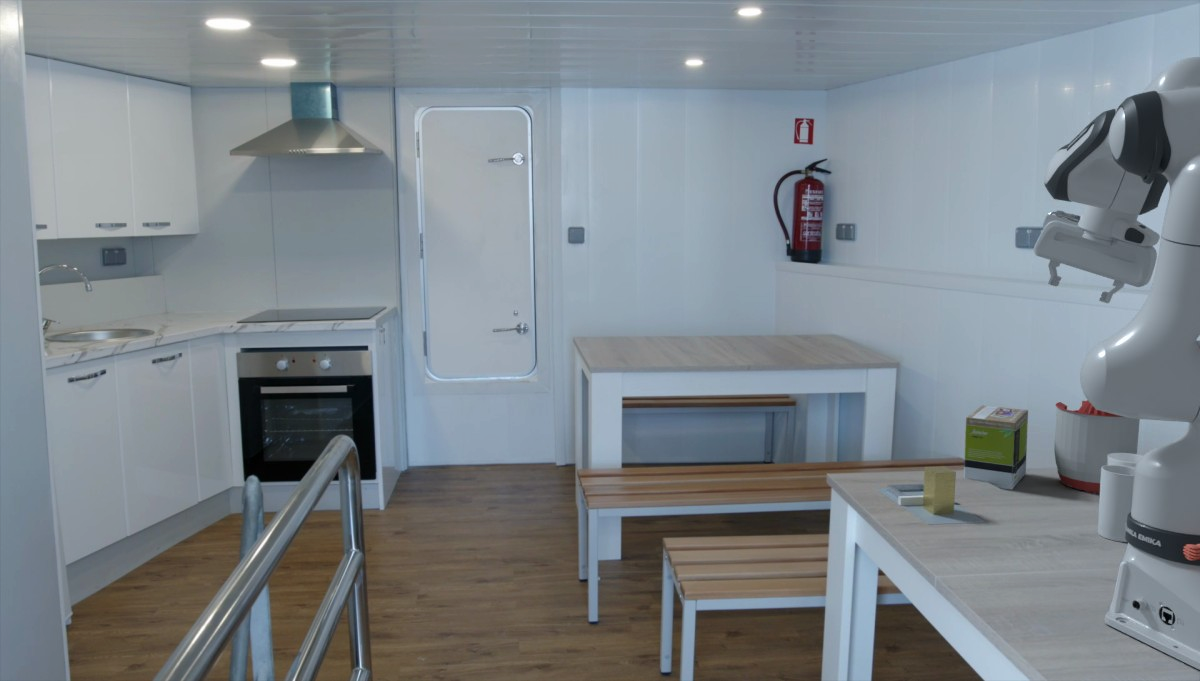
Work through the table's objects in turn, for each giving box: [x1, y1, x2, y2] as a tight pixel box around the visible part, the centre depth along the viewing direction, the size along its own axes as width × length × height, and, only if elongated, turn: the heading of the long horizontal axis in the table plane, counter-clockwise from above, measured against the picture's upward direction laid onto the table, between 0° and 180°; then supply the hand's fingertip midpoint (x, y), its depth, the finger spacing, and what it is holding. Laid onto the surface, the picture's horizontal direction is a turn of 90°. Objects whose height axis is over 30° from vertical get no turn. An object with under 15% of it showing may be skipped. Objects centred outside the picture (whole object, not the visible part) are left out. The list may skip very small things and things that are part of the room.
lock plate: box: [875, 487, 987, 526], centre depth 167 cm, size 22×11×2 cm, turn 7°
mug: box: [1097, 465, 1135, 543], centre depth 153 cm, size 10×7×12 cm, turn 150°
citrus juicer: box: [1053, 399, 1141, 494], centre depth 182 cm, size 16×17×20 cm
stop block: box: [923, 465, 957, 515], centre depth 163 cm, size 4×4×8 cm
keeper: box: [886, 483, 924, 498], centre depth 173 cm, size 8×8×1 cm
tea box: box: [963, 405, 1029, 491], centre depth 187 cm, size 15×10×15 cm
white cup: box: [1107, 453, 1144, 468], centre depth 168 cm, size 8×8×10 cm
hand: (1078, 293), depth 165 cm, fingers open, 8 cm apart
